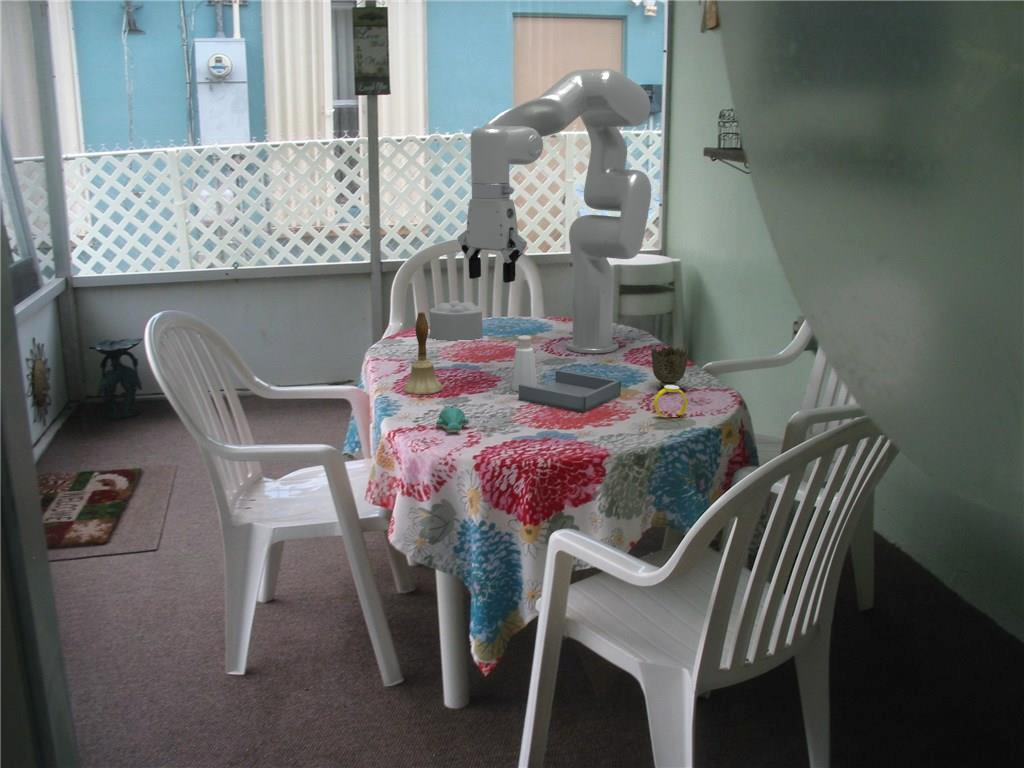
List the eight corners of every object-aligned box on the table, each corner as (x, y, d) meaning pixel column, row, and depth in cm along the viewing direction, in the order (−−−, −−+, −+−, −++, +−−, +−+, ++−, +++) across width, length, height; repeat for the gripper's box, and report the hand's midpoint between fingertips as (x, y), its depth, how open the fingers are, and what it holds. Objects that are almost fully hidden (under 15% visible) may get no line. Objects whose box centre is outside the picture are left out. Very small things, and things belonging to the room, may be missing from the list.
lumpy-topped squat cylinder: (484, 340, 234) (483, 306, 232) (432, 342, 232) (431, 308, 230) (478, 331, 244) (477, 298, 242) (428, 333, 242) (427, 300, 240)
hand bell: (406, 383, 196) (403, 309, 192) (445, 383, 196) (443, 308, 192) (400, 395, 188) (397, 317, 184) (441, 395, 188) (439, 317, 184)
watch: (682, 415, 175) (686, 385, 173) (687, 420, 172) (690, 389, 170) (651, 414, 174) (654, 384, 172) (655, 419, 171) (658, 388, 170)
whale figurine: (467, 422, 171) (467, 402, 170) (470, 435, 164) (469, 415, 163) (436, 423, 171) (435, 403, 170) (436, 437, 164) (436, 416, 163)
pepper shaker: (535, 393, 189) (535, 340, 186) (509, 391, 190) (508, 339, 187) (539, 385, 194) (540, 334, 191) (514, 384, 195) (513, 333, 192)
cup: (664, 395, 186) (665, 356, 184) (642, 386, 193) (643, 348, 191) (694, 390, 190) (696, 351, 188) (672, 381, 196) (673, 344, 194)
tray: (557, 383, 195) (557, 369, 194) (620, 395, 187) (620, 380, 186) (518, 399, 184) (518, 385, 183) (583, 412, 176) (583, 397, 175)
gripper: (537, 192, 183) (537, 281, 188) (468, 189, 193) (469, 273, 198) (515, 195, 178) (515, 286, 182) (444, 192, 187) (447, 278, 192)
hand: (491, 279), depth 190 cm, fingers open, 8 cm apart
